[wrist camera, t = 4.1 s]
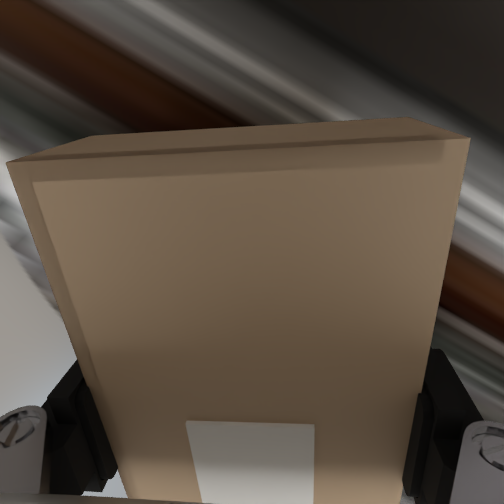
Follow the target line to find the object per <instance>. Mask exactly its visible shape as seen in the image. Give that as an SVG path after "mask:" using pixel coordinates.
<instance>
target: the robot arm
mask: <svg viewBox="0 0 504 504" xmlns="http://www.w3.org/2000/svg"><path fill="white" fill-rule="evenodd" d="M117 469H118V465H117V462H116V459H115V457H114V454H113V451H112V448H111V446H110V443H109V440H108V437H107V434H106V432H105V429H104V426H103V423H102V421H101V418H100V415H99V412H98V410H97V407H96V404H95V401H94V399H93V396H92V393H91V390H90V388H89V387H87V384H86V382H85V379H84V376H83V373H82V371H81V368H80V365H79V362H78V360H76V361H75V363H74V364H73V365H72V367H71V368H70V369H69V370H68V372H67V373H66V374H65V375H64V377H63V378H62V379H61V380H60V382H59V383H58V384H57V385H56V387H55V388H54V389H53V390H52V392H51V393H50V394H49V395H48V397H47V400H46V402H45V403H44V404H43V405H42V407H39V406H25V407H20V408H17V409H15V410H13V411H10V412H8V413H6V414H5V415H3V416H1V417H0V504H213V503H197V502H181V501H166V500H149V499H131V498H113V497H96V496H81V495H82V494H83V492H84V491H92V492H102V491H103V489H104V487H105V485H106V483H107V480H108V479H112V478H113V477H114V475H115V474H116V472H117ZM402 483H403V486H404V490H405V493H406V495H407V496H412V497H414V500H415V503H416V504H504V425H503V424H500V423H496V422H493V421H484V420H483V418H482V416H481V414H480V413H479V411H478V409H477V408H476V406H475V404H474V403H473V401H472V399H471V397H470V396H469V394H468V392H467V391H466V389H465V387H464V386H463V384H462V382H461V381H460V379H459V377H458V375H457V374H456V372H455V370H454V369H453V367H452V365H451V364H450V362H449V360H448V358H447V357H446V355H445V354H444V352H443V351H442V350H440V349H432V348H431V346H430V350H429V355H428V360H427V365H426V370H425V375H424V381H423V386H422V391H421V393H418V397H417V402H416V407H415V413H414V418H413V423H412V428H411V434H410V439H409V444H408V450H407V455H406V460H405V465H404V471H403V476H402Z"/></svg>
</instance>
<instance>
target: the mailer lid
mask: <svg viewBox="0 0 504 504" xmlns="http://www.w3.org/2000/svg"><path fill="white" fill-rule="evenodd" d="M470 139H471V138H468V137H466V136H463V135H460V134H457V133H454V132H451V131H448V130H445V129H442V128H439V127H436V126H433V125H430V124H427V123H424V122H421V121H418V120H416V119H413V118H410V117H400V118H383V119H366V120H349V121H332V122H316V123H299V124H282V125H265V126H248V127H231V128H214V129H197V130H180V131H164V132H147V133H130V134H113V135H96V136H90V137H86V138H83V139H80V140H77V141H73V142H70V143H67V144H64V145H60V146H57V147H54V148H51V149H48V150H44V151H41V152H38V153H35V154H31V155H28V156H25V157H22V158H19V159H15V160H12V161H9V162H6V165H7V168H8V171H9V174H10V176H11V179H12V182H13V185H14V187H15V190H16V193H17V196H18V198H19V201H20V204H21V206H22V209H23V212H24V215H25V217H26V220H27V223H28V226H29V228H30V231H31V234H32V237H33V239H34V242H35V245H36V247H37V250H38V253H39V256H40V258H41V261H42V264H43V267H44V269H45V272H46V275H47V278H48V280H49V283H50V286H51V289H52V291H53V294H54V297H55V299H56V302H57V305H58V308H59V310H60V313H61V316H62V319H63V321H64V324H65V327H66V330H67V332H68V335H69V338H70V340H71V343H72V346H73V349H74V351H75V354H76V357H77V360H78V362H79V365H80V368H81V371H82V373H83V376H84V379H85V382H86V384H87V387H89V388H90V390H91V393H92V396H93V399H94V401H95V404H96V407H97V410H98V412H99V415H100V418H101V421H102V423H103V426H104V429H105V432H106V434H107V437H108V440H109V443H110V446H111V448H112V451H113V454H114V457H115V459H116V462H117V465H118V472H119V474H120V477H121V480H122V483H123V485H124V488H125V491H126V494H127V496H128V498H131V499H149V500H166V501H181V502H197V503H213V504H400V499H401V494H402V488H403V483H402V476H403V471H404V465H405V460H406V455H407V450H408V444H409V439H410V434H411V428H412V423H413V418H414V413H415V407H416V402H417V397H418V393H421V391H422V386H423V381H424V375H425V370H426V365H427V360H428V355H429V350H430V345H431V340H432V334H433V329H434V324H435V319H436V314H437V309H438V304H439V298H440V293H441V288H442V283H443V278H444V273H445V268H446V263H447V257H448V252H449V247H450V242H451V237H452V232H453V227H454V221H455V216H456V211H457V206H458V201H459V196H460V191H461V185H462V180H463V175H464V170H465V165H466V160H467V155H468V150H469V144H470Z"/></svg>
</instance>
